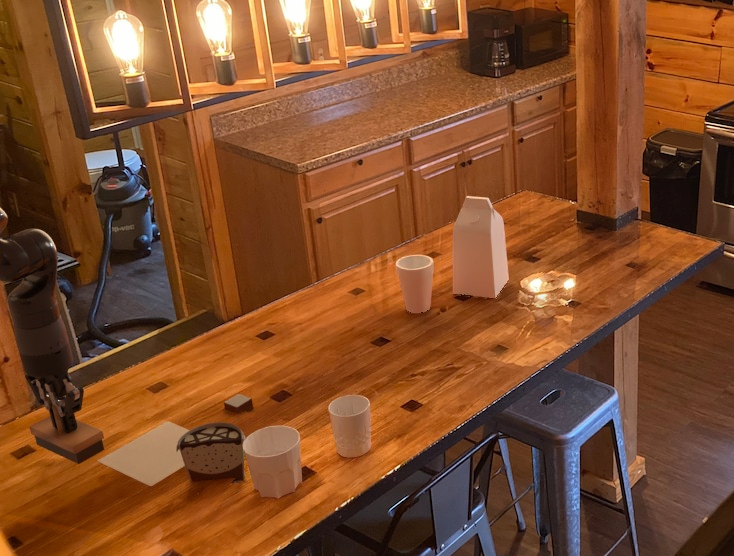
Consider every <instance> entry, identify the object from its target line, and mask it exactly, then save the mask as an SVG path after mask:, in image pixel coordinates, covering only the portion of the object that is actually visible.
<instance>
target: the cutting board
mask: <svg viewBox="0 0 734 556" xmlns="http://www.w3.org/2000/svg"><path fill="white" fill-rule="evenodd" d="M190 430H191V429H188V428H185V427H183V426H180V425H178V424H177V423H174V422H171V421H168V420H166V421H164V422H163V423H161V424H160V425H158V426H156V427H154V428H153V429H151V430H148V431H147V432H145V433H144V434H141V435H140V436H138V437H136V438H135V439H133V440H131V441H130V442H127V443H126V444H124V445H121V446H120V447H119V448H117V449H115V450H113V451H112V452H110V453H108V454H106V455H105V456H102V457H101V458H99V459H97V460H96V462H97V463H99V464H102V465H104V466H106V467H108V468H110V469H112V470H114V471H117V472H119V473H121V474H122V475H125V476H127V477H129V478H132V479H134V480H135V481H137V482H140V483H142V484H144V485H146V486H148V487H153V486H155V485H156V484H158V483H160V482H161V481H163V480H164V479H166V478H167V477H170V476H171V475H173V474H174V473H175V472H177V471H179V470H180V469H182V468H184V467H185V464H184V461H183V458H182V455H181V452H180V449H179V450H178V451H177V452H176V449H177V444H178V440H179V439H180V438H181V437H182V436H183V435H184V434H185V433H187V432H188V431H190Z"/></svg>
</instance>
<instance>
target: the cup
mask: <svg viewBox="0 0 734 556" xmlns="http://www.w3.org/2000/svg"><path fill="white" fill-rule="evenodd" d="M245 438H246V439H245V440H244V441H243V445H242V446H243V452H244V458H245V460H246V463H247V466H248V469H249V473H250V477H251V481H252V484H253V489H254V490H256V491H258V492H259V495H260V498H261V499H262V498H275V499H278V500H279V499H280V498H281V497H284V496H286V495H289V494H291V493H296V489H297V487H298V486H299V484H301V483H302V482H303V475H302V474H303V471H302V469H303V468H302V451H301V435H300V432H299V431H298V430H297V429H296V428H294V427H292V426H287V425H271V426H266V427H262V428H260V429H257V430H255V431H254V432H252V433H250V434H249V435H247V437H245Z"/></svg>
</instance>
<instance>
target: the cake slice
mask: <svg viewBox="0 0 734 556" xmlns="http://www.w3.org/2000/svg"><path fill="white" fill-rule="evenodd" d="M189 430H190V431H188V432H187V433H185V434H184V435H183V436H182V437H181V438H180V439H179V440H178V444H177V449H176V452H177V451H178V450H179V449H180V452H181V455H182V458H183V461H184V464H185V466H184V467H185V470H186V472H187V476H188V478H189V481H190V483H195V482H206V481H207V482H209V481H216V480H217V481H218V480H227V479H232V481H231V484H232V483H241V482H242V483H243V482H245V478H246V473H245V454H244V450H243V446H242V445H243V442H244V440H245V439H246V438H247V437H246V436H245V433H244V432H243V430H242V429H241V428H240V426H238V425H236V424H233V423H231V422H223V421H222V422H221V421H220V422H219V421H218V422H209V423H205V424H202V425H201V424H200V425H199V426H195V427H193V428H192V429H189Z"/></svg>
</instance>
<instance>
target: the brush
mask: <svg viewBox="0 0 734 556" xmlns="http://www.w3.org/2000/svg"><path fill="white" fill-rule="evenodd" d="M63 408H65V403H64V404H63ZM52 409H53V413H54V417H55V421H56V424H57V428H58V429H56V428H54V427H53V424H52V420H51V417H50V415H49V416H47V417H46V418H43V419H41V420H39V421H37V422H35V423H33V424H31V425H29V426H28V427H29V431H30V434H31V435H32V436H34V439H35V442H36V445H37V446H39V447H41V448H43V449H45V450H47V451H50V452H52V453H53V454H56V455H58V456H60V457H63V458H64V459H67V460H69V461H71V462H73V463H76V464H78V465H80V464H82V463H84V462H85V461H87V460H89V459H91V458H92V457H94V456H96V455H98V454H100V453H102V452H103V451H105V447H104V446H105V445H104V441H103V440H104V439H105V436H104V431H103V430H102V429H99V428H97V427H95V426H92V425H90V424H88V423H85V422H83V421H81V420H78V419H76V423H77V429H76V430H74V431H72V432H70V433H65V432H64V431H63V428H62V424H61V420H60V415H59V412H58V409H57V406H56V405H52Z"/></svg>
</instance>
